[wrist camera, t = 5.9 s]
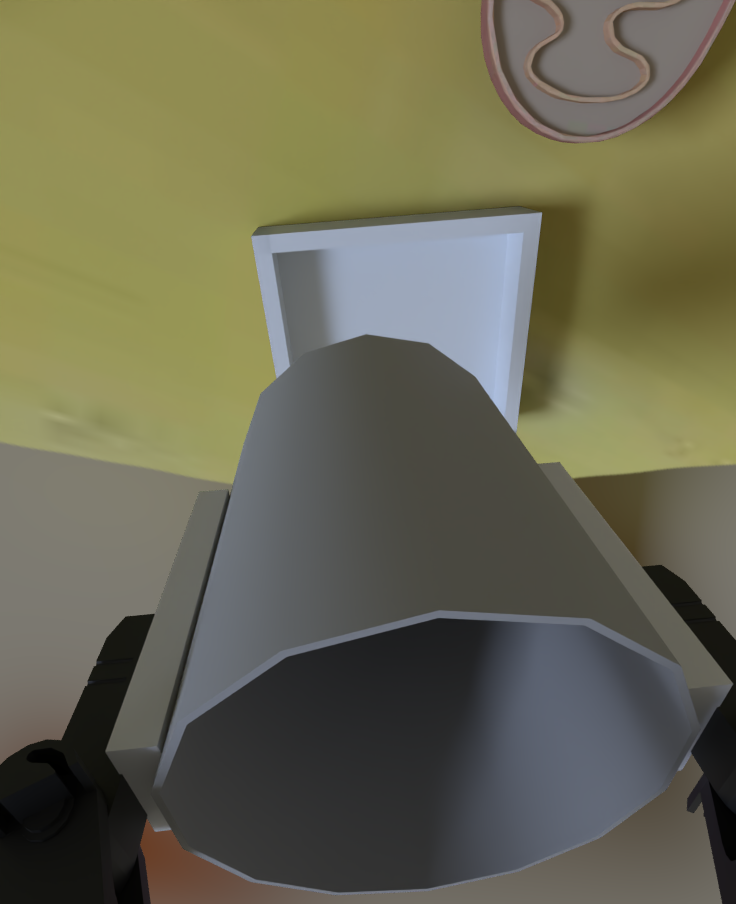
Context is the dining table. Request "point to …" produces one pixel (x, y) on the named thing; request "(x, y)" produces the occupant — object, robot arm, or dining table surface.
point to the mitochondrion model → (594, 60)
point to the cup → (408, 647)
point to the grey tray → (407, 288)
